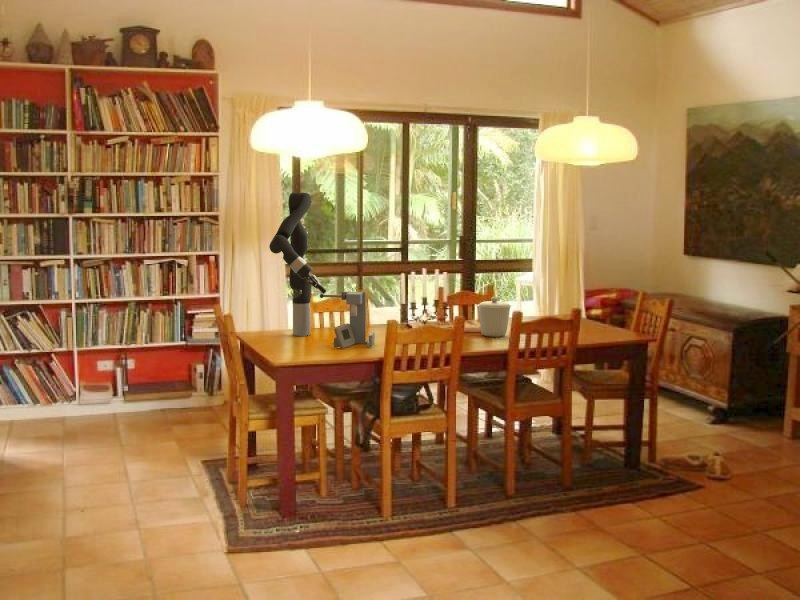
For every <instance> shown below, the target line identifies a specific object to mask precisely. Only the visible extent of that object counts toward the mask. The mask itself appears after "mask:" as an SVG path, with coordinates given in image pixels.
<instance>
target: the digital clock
mask: <svg viewBox="0 0 800 600" xmlns="http://www.w3.org/2000/svg"><path fill="white" fill-rule="evenodd" d="M333 332H334V334H335V337H334V339H333V348H335V347H340V349H341V350H342V349H347V348H350V347H351V345H352V346H353V345H355V342H356V341H355V338H354V335H353V332H352V329H351V326H350V323H344V324H340V325H338V326H337V327H334V328H333ZM349 346H350V347H349ZM346 347H347V348H346Z"/></svg>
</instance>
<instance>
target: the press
mask: <svg viewBox="0 0 800 600" xmlns="http://www.w3.org/2000/svg"><path fill="white" fill-rule="evenodd" d="M343 294H346V299H343V298H341V300H342V301H346V303H345V304H346V305H349V324H350V326H351V329H352V332H353V335H354V338H355V341H356V342H355V343H368V348H369V347H372V346H373V347H374V345H375V334H376V333H375V332H376V331H375V332H374V331H372V332H371V331H370V333H369V334H368V340H367V323H366V322H367V292H366V291H365V292H364V291H341V295H343ZM373 347H372V348H373Z"/></svg>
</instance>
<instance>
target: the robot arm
mask: <svg viewBox="0 0 800 600" xmlns="http://www.w3.org/2000/svg"><path fill="white" fill-rule="evenodd" d="M312 200H313V199H312V196H311V194H310V193H308V192H291V193H290V194H289V197H288V210H289V215H288V216H286V217H285V218H284V219H283V220H282V221H281V223H280V225H279V227H278V229H277V232H276V234H275V235H274V236H273V237H272V239H271V241H270V243H269V246H268V247H269V250H270V252H271V253H273V254H280V253H282V254H283V255H282V256H283V257H282V259H283V261H284V262H285V263H286V264H287V265H288V266H289V267H290V268H289V276H288V277H289V279H288V280H289V287H290V288H291V289H292V290H293V291H295V290H296V291H300V292H301V293H300V294H299V295H297V296H293V298H292V335H293V336H296V337H305V336H306V337H307V335H308V336H310V335H311V299H312V298H311V297H312V287H314V289H317V290H319V291H320V292H321V294H324V295H325V294H326V292H327V289H326V288H325V287H324V286H323V283H322V282H321V280H320V279H319V278H318V277H317V276H316V275H315V274H313V273H311V272H312V271H313V268H312V266H310V264H309V263H307V261H306V260H305V259H303V258H304V257H305V255H306V253H307V252H308V249H309V248H308V247H309V235H308V232H307V230H306V228H305V227H304V226H303V223H302V221H301V220H302V218H303V217H304V216H305V215H306V213H307V212H308V211H309V210H310V208H311V206H312V202H313V201H312ZM289 238H290V240H289Z"/></svg>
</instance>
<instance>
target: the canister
mask: <svg viewBox="0 0 800 600" xmlns="http://www.w3.org/2000/svg"><path fill="white" fill-rule="evenodd" d="M498 300H499V299H498V297H497V296H492V297H491V298H490V300H489V301H487V300H486V301H482V302H479V304H477V307H478V317H479V318H478V319H479V327H480V333H481V334H482V335H483V336H484V337H490V338H497V337H498V338H499V337H500V338H501V337H504V336H505V335H506V334H507V332H508V325H509V318H510V311H511V308H512V305H511V304H510V303H508V302H505V301H498Z"/></svg>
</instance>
